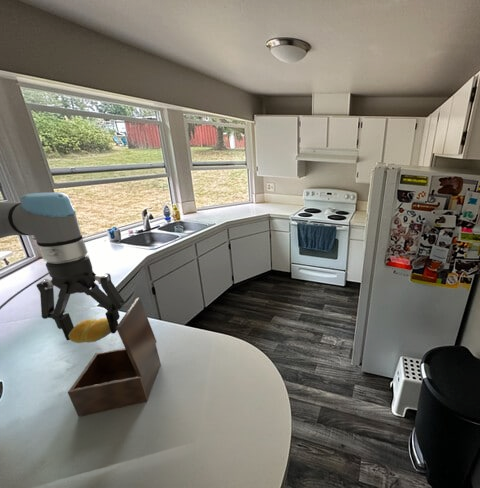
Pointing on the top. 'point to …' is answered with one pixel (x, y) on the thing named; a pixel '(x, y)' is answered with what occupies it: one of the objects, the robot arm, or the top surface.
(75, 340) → the bread roll
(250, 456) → the top surface
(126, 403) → the bin
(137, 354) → the bin lid
